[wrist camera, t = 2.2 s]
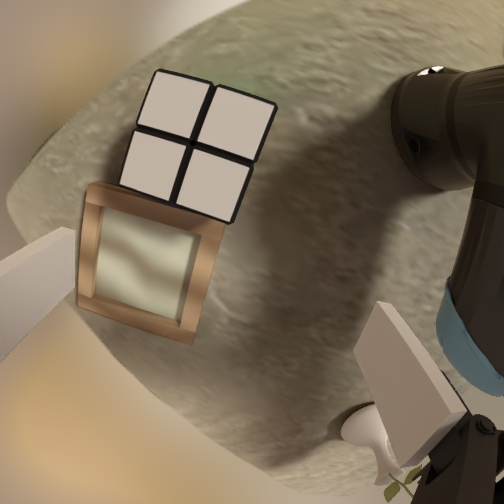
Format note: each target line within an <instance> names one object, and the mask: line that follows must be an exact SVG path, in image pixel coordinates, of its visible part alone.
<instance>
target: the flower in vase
mask: <svg viewBox="0 0 504 504" xmlns="http://www.w3.org/2000/svg"><path fill="white" fill-rule="evenodd" d="M341 436H342V438H343V439H344V440H345V441H346V442H348V443H350V444H353V445H357V446H364V447H369V448H371V449H372V450H373V451H374V453H375V456H376V460H377V465H378V475H377V478H376V480H375V483H374V484H375V485H379V486H380V485H385V484H389V483H392V482H393V483H392V484H391V485H389V486H388V487H387V488H386V489H385V491H384V496H385V499H386V501H387V502H390V500H391V499H392V498H393V497H394V496H395V495H396V494H397V493H398V492H399V490H400V486H399V484H400V485H402V486H403V487H404V488H405V490H406V491H407V492H408V493H409V495H410V496H411V497H412V498H413V497H414V495H413V494H411V492H410V491H409V490H408V489H407V487H406V486H405V485H406V484H410V483H412V482H413V481H412V478H413V477H414V476H415V475H416V474H417V473H418V472H419V471H420V470H421V467H422V464H421V465H420V466H419V467H417V468H415V469H414V470H412V471H410V473H409V474H408V475H407V477H406V479H405V482H404V484H405V485H404V484H403V483H401V482H399V481H398V479H399V478H401V477H402V476H403V475H404V474H405V470H403V469H401V468H399V467H398V466H397V465H396V464H395V463H394V462H393V460H392V458H391V456H390V454H389V452H388V449H387V440H388V435H387V433H386V430H385V428H384V425H383V422H382V420H381V417H380V415H379V412H378V410H377V408H376V405H375V404H372V405H369V406H366V407H364V408H362V409H360V410H358V411H356V412H355V413H353V414H352V415H351V416H350V417H349V418H348V419H347V420H346V421H345V422H344V424H343V426H342V428H341ZM394 481H396V482H394ZM398 483H399V484H398Z"/></svg>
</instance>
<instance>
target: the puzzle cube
mask: <svg viewBox="0 0 504 504" xmlns="http://www.w3.org/2000/svg"><path fill="white" fill-rule="evenodd" d="M277 110H278V107H277V105H276V103H275V102H272V101H269V100H267V99H264V98H261V97H258V96H255V95H252V94H250V93H247V92H244V91H241V90H237V89H234V88H231V87H228V86H225V85H221V84H219V85H217V86H214V84H213V83H212V82H211V81H208V80H204V79H200V78H197V77H193V76H189V75H185V74H181V73H177V72H173V71H169V70H164V69H158V70H156V71H155V72H154V74H153V77H152V79H151V82H150V84H149V87H148V89H147V92H146V95H145V97H144V100H143V103H142V105H141V108H140V111H139V114H138V117H137V120H136V125H137V128H136V129H134V130H133V131H132V134H131V137H130V141H129V144H128V147H127V150H126V154H125V157H124V161H123V164H122V168H121V172H120V176H119V179H118V184H119V186H120V187H121V188H124V189H127V190H130V191H133V192H135V193H138V194H141V195H144V196H147V197H150V198H153V199H156V200H159V201H162V202H165V203H168V204H169V203H171V202H174V204H175V206H176V207H179V208H182V209H185V210H188V211H191V212H193V213H196V214H199V215H202V216H205V217H208V218H210V219H213V220H216V221H219V222H222V223H225V224H227V225H229V224H232V223H234V221H235V218H236V215H237V213H238V210H239V207H240V205H241V202H242V199H243V197H244V194H245V191H246V189H247V186H248V183H249V181H250V178H251V175H252V173H253V170H254V163H255V162H257V161H258V158H259V155H260V153H261V150H262V148H263V145H264V142H265V140H266V137H267V135H268V132H269V130H270V127H271V125H272V122H273V120H274V117H275V115H276V112H277Z"/></svg>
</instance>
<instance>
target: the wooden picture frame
mask: <svg viewBox="0 0 504 504" xmlns="http://www.w3.org/2000/svg"><path fill="white" fill-rule="evenodd" d="M225 225H226V224H225V223H222V222H219V221H216V220H213V219H210V218H208V217H205V216H202V215H199V214H196V213H193V212H191V211H188V210H185V209H182V208H179V207H176V206H175V204H174V202H171V203H169V204H168V203H165V202H162V201H159V200H156V199H153V198H150V197H147V196H144V195H141V194H138V193H135V192H133V191H130V190H127V189H124V188H121V187H119V186H115V185H111V184H108V183H104V182H100V181H97V182H94V183H90V184H88V188H87V194H86V201H85V208H84V216H83V225H82V234H81V246H80V259H79V278H78V306H80V307H83V308H85V309H88V310H90V311H93V312H95V313H98V314H100V315H103V316H106V317H108V318H111V319H114V320H117V321H119V322H122V323H125V324H128V325H131V326H134V327H137V328H140V329H143V330H146V331H149V332H152V333H155V334H158V335H161V336H164V337H167V338H171V339H174V340H177V341H181V342H184V343H187V344H191V345H192V344H193V341H194V337H195V334H196V330H197V326H198V322H199V318H200V315H201V311H202V307H203V303H204V300H205V296H206V292H207V289H208V285H209V281H210V278H211V274H212V270H213V267H214V263H215V260H216V256H217V253H218V249H219V246H220V242H221V239H222V235H223V232H224V228H225Z"/></svg>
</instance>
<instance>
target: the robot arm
mask: <svg viewBox="0 0 504 504" xmlns="http://www.w3.org/2000/svg"><path fill="white" fill-rule="evenodd" d="M391 124H392V132H393V136H394V140H395V143H396V146H397V149H398V151H399V153H400V155H401V157H402V159H403V161H404V162H405V164H406V165H407V166H408V168H409V169H410V170H411V171H412V172H413V173H414V174H415V175H416V176H417V177H418V178H419V179H421V180H422V181H424V182H425V183H427V184H429V185H432V186H435V187H438V188H441V189H445V190H461V189H465V188H469V187H473V186H474V189H473V194H472V197H471V202H470V207H469V211H468V216H467V220H466V224H465V228H464V232H463V236H462V240H461V244H460V247H459V251H458V254H457V258H456V261H455V264H454V267H453V271H452V273H451V276H449V278H447V280H446V283H445V293H444V296H443V299H442V302H441V305H440V308H439V311H438V314H437V318H436V333H437V338H438V340H439V343H440V345H441V346H442V348H443V352H444V354H445V356H446V357H447V359H448V360H449V362H450V363H451V364H452V366H453V367H454V368H455V369H456V370H457V371H458V372H459V373H460V375H461V376H463V377H464V378H465V379H466V380H467V381H468V382H470V383H471V384H472V385H473V386H475V387H476V388H478V389H480V390H481V391H483V392H485V393H487V394H490V395H492V396H496V397H500V396H502V395H503V396H504V65H499V66H494V67H489V68H484V69H480V70H476V71H472V72H464V71H460V70H456V69H451V68H447V67H441V66H433V67H427V68H424V69H421V70H418V71H416V72H413V73H412V74H410V75H409V76H407V77H406V78H405V79H404V80H403V81H402V83H401V84H400V85H399V87H398V89H397V91H396V93H395V96H394V99H393V103H392V110H391ZM488 202H489V203H488ZM74 262H75V230H72V229H68V228H65V227H60V228H58V229H56V230H54V231H53V232H51V233H49V234H47V235H45V236H43V237H41V238H40V239H38V240H36V241H34V242H32V243H31V244H29V245H27V246H25V247H24V248H22V249H20V250H18V251H17V252H15V253H13V254H12V255H10V256H8V257H6V258H5V259H4V260H2V261H0V363H1V362H2V361H3V360H4V359H5V358H6V357H7V355H8V354H9V353H10V352H11V351H12V350H13V349H14V348H15V347H16V346H17V344H18V343H19V342H20V341H21V340H22V339H23V338H24V337H25V336H26V335H27V334H28V333H29V332H30V331H31V330H32V329H33V328H34V327H35V326H36V325H37V324H38V323H39V322H40V321H41V320H42V319H43V318H44V317H45V316H46V315H47V314H48V312H50V311H51V310H52V309H53V308H54V307H55V306H56V305H57V304H58V303H59V302H60V301H61V300H62V299H63V298H64V297H65V296H66V295H67V294H68V293H70V292H71V291H72V290H73V289H74V288H75V271H74ZM353 353H354V355H355V358H356V360H357V362H358V365H359V367H360V369H361V372H362V374H363V376H364V379H365V381H366V383H367V386H368V388H369V390H370V393H371V395H372V398H373V400H374V403H375V405H376V408H377V410H378V412H379V415H380V417H381V420H382V422H383V425H384V428H385V430H386V433H387V435H388V438H389V440H390V443H391V446H392V448H393V451H394V454H395V456H396V459H397V462H398V464H399V467H400V468H402V467H409V466H414V465H417V464H419V463H420V461H422V460H423V459H424V458H425V457H426V456H427V455H428V456H429V458H430V460H431V461H430V462H429V463H428V464H427V465H426V466H425V467H424V468H423V469H421V470H420V471H419V472H418V473H417V474H416V475H415V476H414V477H413V478H412V481H414V480H416V478H418V477H419V476H421V479H420V480H419V481H418V482H417V483H419V484H418V487H417V489H416V492H415V494H414V497H413V499H412V502H411V504H504V477H503V478H502V479H501V480H500V481H498V482H497V483H496V482H495V479H496V476H497V475H499V474H500V472H502V471H503V470H504V431H503V430H497V429H496V427H495V425H494V423H493V422H492V421H491V420H490V419H488V418H487V417H485V416H483V415H480V414H475V415H474V416H473V415H472V414H471V412H470V411H469V409H468V408H467V406H466V405H465V403H464V401H463V400H462V398H461V397H460V395H459V394H458V392H457V391H455V388H454V386H453V385H452V384H450V381H449V379H448V378H447V376H446V375H445V373H444V372H443V371H442V370H440V369H439V368H438V366H437V365H436V364H435V362H434V361H433V359H432V358H431V357H430V355H429V354H428V352H427V351H426V350H425V348H424V347H423V346H422V344H421V343H420V341H419V340H418V339H417V337H416V336H415V335H414V333H413V332H412V331H411V329H410V328H409V327H408V325H407V324H406V323H405V321H404V320H403V319H402V318H401V316H400V315H399V314H398V312H397V311H396V310H395V308H394V307H393V306H392V305H391V304H390V303H385V302H380V301H376V304H375V306H374V308H373V310H372V313H371V315H370V317H369V319H368V321H367V323H366V325H365V327H364V330H363V332H362V334H361V336H360V338H359V340H358V342H357V344H356V346H355V348H354V350H353Z"/></svg>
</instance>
